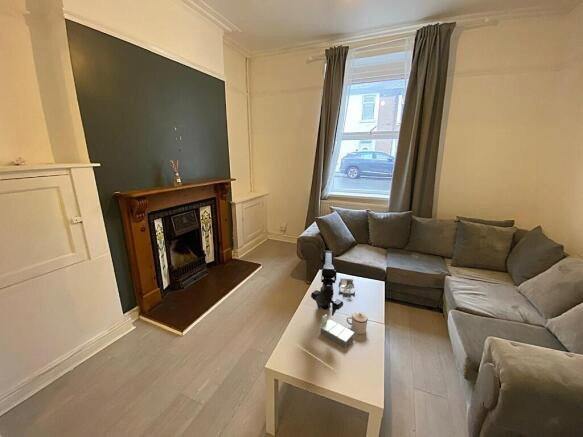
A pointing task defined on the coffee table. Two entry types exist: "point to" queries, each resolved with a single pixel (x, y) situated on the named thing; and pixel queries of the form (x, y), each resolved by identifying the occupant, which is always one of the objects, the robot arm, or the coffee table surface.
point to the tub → (336, 338)
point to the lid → (336, 329)
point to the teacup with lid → (358, 322)
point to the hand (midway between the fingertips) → (325, 312)
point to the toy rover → (346, 286)
